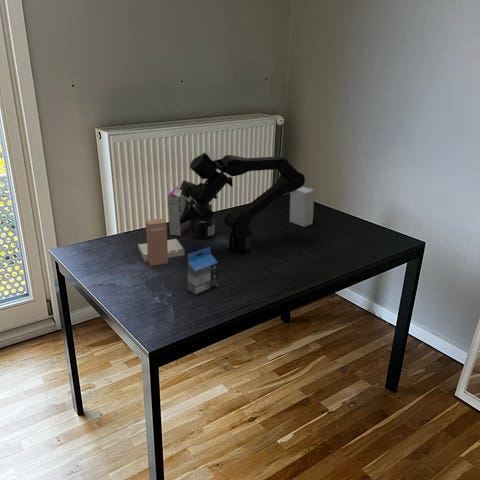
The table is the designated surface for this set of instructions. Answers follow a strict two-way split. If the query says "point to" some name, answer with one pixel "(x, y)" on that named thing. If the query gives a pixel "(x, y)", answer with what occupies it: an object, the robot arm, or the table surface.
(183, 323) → the table surface
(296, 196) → the skincare box
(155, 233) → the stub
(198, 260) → the label tape cartridge
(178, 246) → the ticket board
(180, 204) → the candy bar box
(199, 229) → the ink bottle
